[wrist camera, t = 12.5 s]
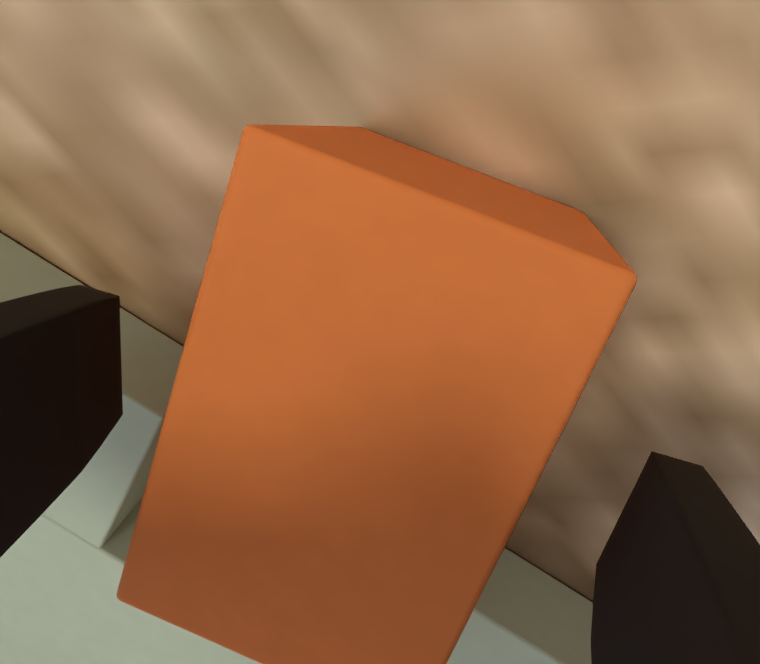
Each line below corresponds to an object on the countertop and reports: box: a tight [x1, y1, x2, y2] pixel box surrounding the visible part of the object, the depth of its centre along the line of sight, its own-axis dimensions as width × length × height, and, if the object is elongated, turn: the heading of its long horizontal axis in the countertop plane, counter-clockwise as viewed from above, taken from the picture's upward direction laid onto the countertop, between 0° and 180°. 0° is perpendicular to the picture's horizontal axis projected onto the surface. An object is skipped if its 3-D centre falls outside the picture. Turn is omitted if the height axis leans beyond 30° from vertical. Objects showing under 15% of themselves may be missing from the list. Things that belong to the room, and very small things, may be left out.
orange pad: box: [116, 125, 637, 664], centre depth 10 cm, size 4×10×5 cm, turn 163°
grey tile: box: [0, 233, 593, 664], centre depth 18 cm, size 20×16×2 cm
